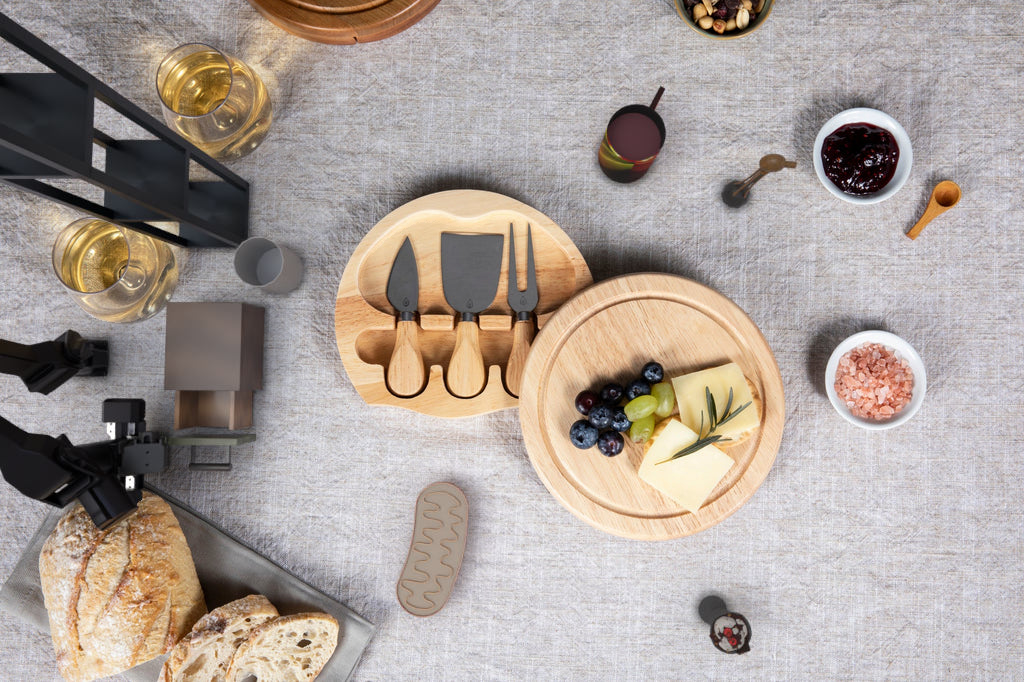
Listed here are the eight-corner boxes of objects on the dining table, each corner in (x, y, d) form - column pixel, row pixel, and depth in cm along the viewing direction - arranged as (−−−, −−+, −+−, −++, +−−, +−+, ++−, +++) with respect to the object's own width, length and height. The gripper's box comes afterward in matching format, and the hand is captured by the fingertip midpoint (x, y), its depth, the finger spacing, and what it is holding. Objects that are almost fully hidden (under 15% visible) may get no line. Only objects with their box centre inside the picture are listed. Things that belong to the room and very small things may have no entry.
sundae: (691, 592, 116) (716, 625, 101) (729, 589, 116) (760, 621, 101) (694, 630, 115) (720, 669, 100) (733, 627, 115) (764, 665, 100)
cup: (297, 298, 119) (276, 291, 109) (253, 289, 119) (228, 281, 110) (307, 252, 120) (287, 241, 110) (263, 243, 120) (239, 232, 110)
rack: (181, 248, 120) (-234, 98, 54) (183, 182, 121) (-225, -45, 55) (247, 248, 120) (-89, 98, 54) (249, 183, 120) (-82, -46, 54)
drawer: (255, 467, 117) (236, 474, 109) (191, 466, 117) (167, 473, 110) (257, 364, 118) (239, 363, 110) (194, 363, 118) (171, 363, 110)
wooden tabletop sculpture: (755, 184, 119) (802, 146, 99) (752, 209, 119) (799, 176, 99) (722, 180, 119) (762, 142, 99) (719, 206, 119) (759, 172, 99)
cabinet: (262, 389, 119) (239, 390, 109) (192, 388, 119) (163, 390, 109) (264, 307, 119) (242, 302, 110) (195, 307, 120) (166, 301, 110)
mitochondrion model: (425, 472, 117) (421, 477, 112) (480, 485, 117) (478, 490, 112) (395, 600, 117) (390, 610, 112) (450, 613, 116) (447, 624, 111)
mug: (654, 109, 120) (668, 80, 108) (650, 184, 119) (664, 164, 107) (600, 106, 120) (609, 77, 108) (596, 182, 119) (605, 161, 107)
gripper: (143, 523, 101) (194, 503, 117) (147, 400, 102) (197, 396, 118) (71, 522, 101) (131, 502, 117) (75, 400, 102) (135, 396, 118)
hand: (150, 449), depth 117 cm, fingers closed on block, 4 cm apart
